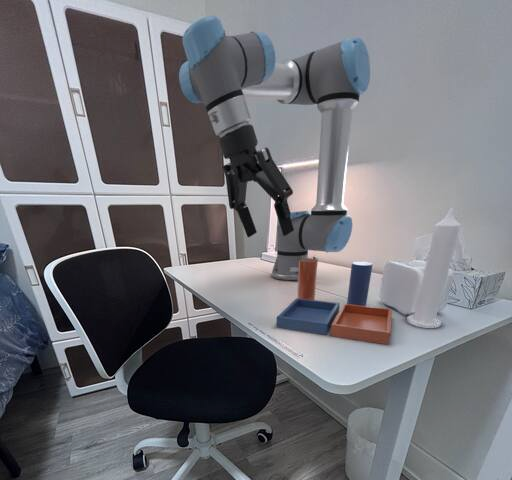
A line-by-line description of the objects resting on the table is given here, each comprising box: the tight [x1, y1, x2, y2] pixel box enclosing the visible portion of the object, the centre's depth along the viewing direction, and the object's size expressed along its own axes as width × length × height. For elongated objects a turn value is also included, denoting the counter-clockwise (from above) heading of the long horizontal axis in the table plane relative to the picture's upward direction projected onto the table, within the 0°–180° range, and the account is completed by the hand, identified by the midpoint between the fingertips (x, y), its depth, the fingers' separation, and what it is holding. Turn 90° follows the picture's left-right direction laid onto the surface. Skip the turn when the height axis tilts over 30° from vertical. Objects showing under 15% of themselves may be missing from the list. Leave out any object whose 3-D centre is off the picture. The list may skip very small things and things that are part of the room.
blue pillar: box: [346, 261, 374, 306], centre depth 76 cm, size 5×5×12 cm
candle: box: [406, 206, 461, 329], centre depth 64 cm, size 7×7×25 cm
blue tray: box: [276, 297, 340, 336], centre depth 71 cm, size 16×12×3 cm
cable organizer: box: [378, 259, 455, 316], centre depth 77 cm, size 15×11×12 cm
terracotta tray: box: [330, 303, 393, 346], centre depth 67 cm, size 16×12×3 cm
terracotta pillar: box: [296, 258, 319, 300], centre depth 82 cm, size 5×5×12 cm
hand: (269, 234), depth 69 cm, fingers open, 13 cm apart
